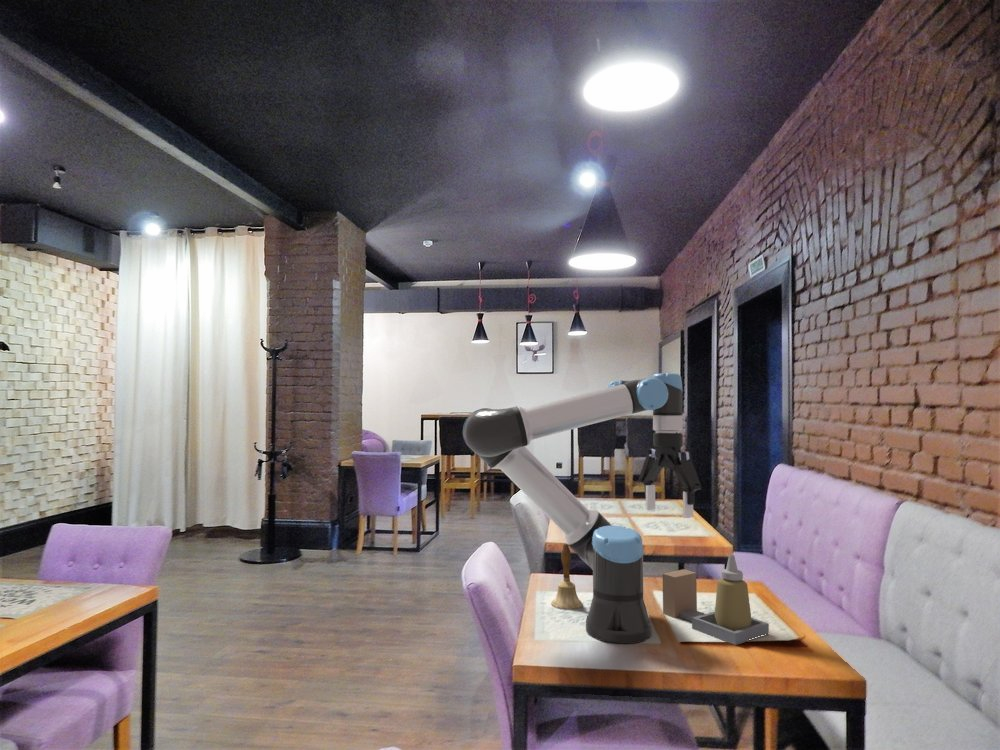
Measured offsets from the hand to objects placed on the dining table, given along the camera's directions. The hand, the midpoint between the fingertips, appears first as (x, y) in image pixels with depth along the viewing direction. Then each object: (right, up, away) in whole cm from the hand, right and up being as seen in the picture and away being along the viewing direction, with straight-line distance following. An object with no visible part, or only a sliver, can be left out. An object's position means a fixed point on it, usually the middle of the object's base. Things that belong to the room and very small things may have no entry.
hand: (668, 513), depth 158 cm
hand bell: (-26, -25, +3) cm, 37 cm away
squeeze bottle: (+10, -24, -18) cm, 32 cm away
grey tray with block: (+7, -24, -12) cm, 28 cm away
